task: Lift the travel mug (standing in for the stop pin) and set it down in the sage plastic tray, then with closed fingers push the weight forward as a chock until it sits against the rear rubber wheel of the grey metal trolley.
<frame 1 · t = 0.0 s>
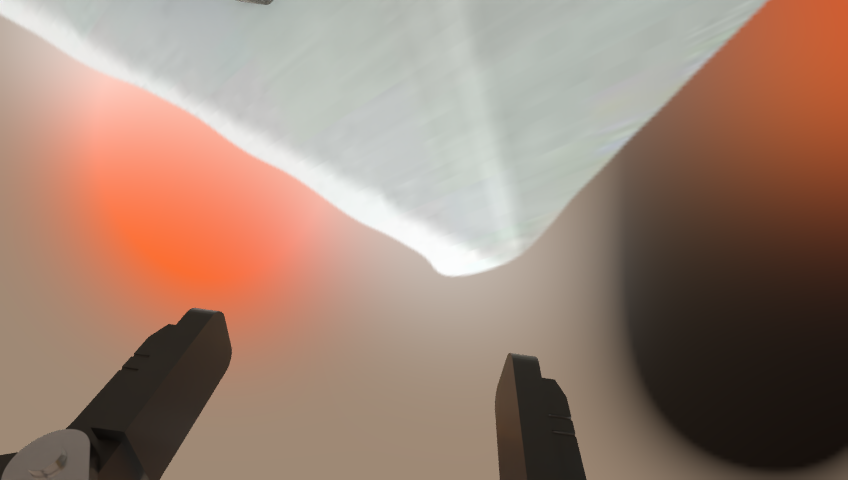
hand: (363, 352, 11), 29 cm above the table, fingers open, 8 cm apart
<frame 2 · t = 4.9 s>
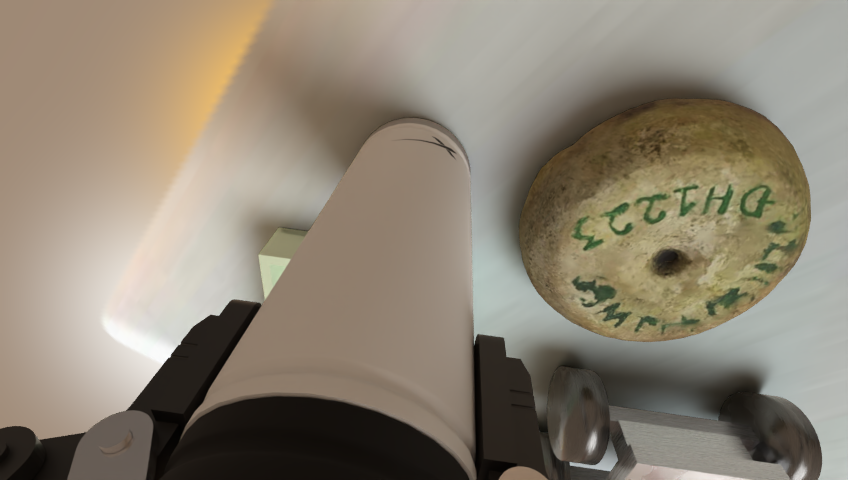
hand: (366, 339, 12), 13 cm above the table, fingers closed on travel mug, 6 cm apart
travel mug: (413, 168, 23), on the table, touching gripper
trolley: (632, 421, 32), on the table
weight: (636, 212, 23), on the table
tray: (370, 311, 28), on the table
when the fingers open (14 cm above the table, at t = 10.0 s): travel mug drops 1 cm, resting on tray.
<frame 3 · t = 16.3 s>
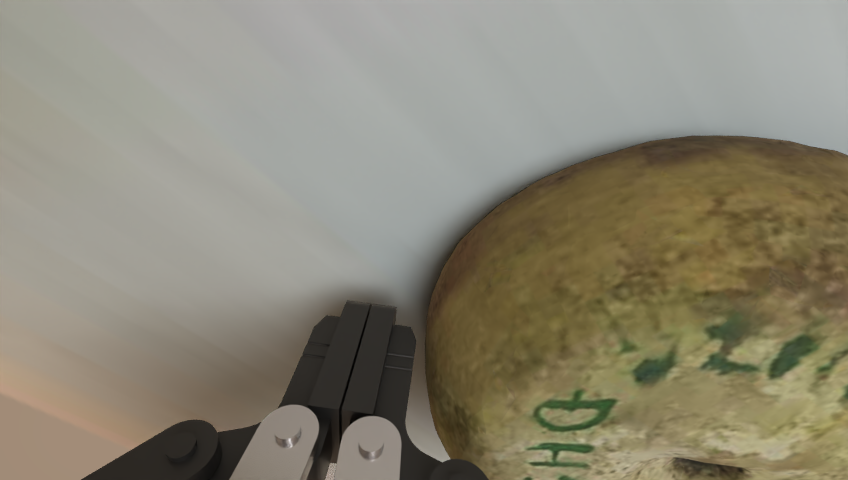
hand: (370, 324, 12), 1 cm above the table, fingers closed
weight: (632, 323, 13), on the table, touching gripper
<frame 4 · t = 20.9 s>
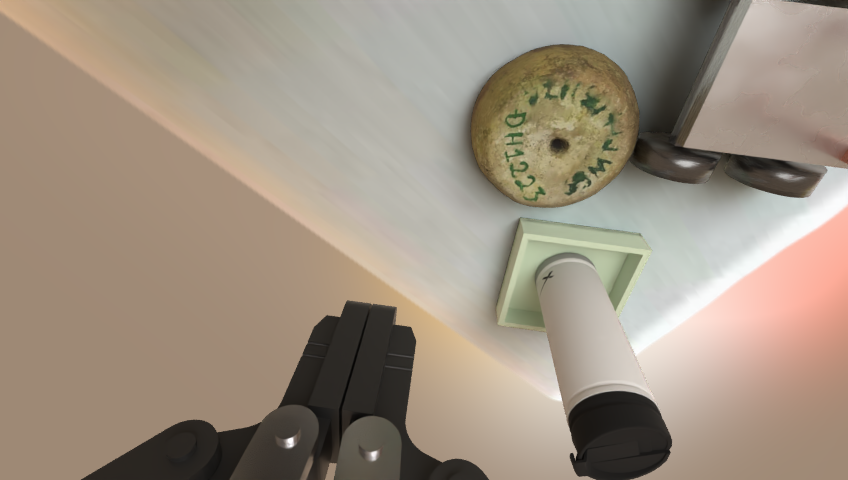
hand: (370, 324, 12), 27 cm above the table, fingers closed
travel mug: (562, 274, 43), resting on tray
trolley: (744, 70, 32), on the table
weight: (546, 126, 36), on the table
tray: (562, 273, 43), on the table
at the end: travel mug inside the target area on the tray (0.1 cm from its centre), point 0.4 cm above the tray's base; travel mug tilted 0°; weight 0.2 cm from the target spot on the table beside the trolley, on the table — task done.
